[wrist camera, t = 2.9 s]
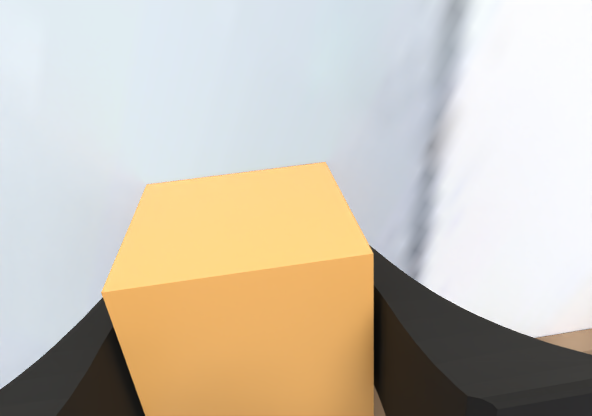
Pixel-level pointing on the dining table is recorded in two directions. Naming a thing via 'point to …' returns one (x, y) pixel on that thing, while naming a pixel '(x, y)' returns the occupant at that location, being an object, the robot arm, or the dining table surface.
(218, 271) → the orange wooden cube
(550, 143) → the dining table surface
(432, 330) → the robot arm
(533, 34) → the dining table surface
